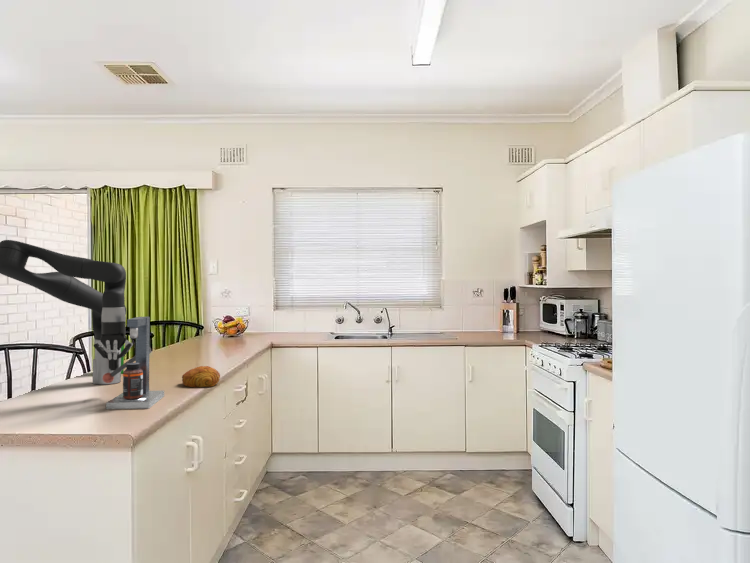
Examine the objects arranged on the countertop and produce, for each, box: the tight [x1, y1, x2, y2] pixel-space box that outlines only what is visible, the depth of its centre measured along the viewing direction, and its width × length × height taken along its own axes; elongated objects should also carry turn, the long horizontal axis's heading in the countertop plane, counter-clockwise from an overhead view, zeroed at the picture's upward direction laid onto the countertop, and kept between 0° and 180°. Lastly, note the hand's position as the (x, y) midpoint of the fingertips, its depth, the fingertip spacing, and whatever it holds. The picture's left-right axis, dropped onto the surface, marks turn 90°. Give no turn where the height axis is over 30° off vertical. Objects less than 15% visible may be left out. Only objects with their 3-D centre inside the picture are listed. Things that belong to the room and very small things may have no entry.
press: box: [105, 316, 165, 410], centre depth 179 cm, size 13×18×28 cm
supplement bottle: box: [122, 362, 143, 399], centre depth 176 cm, size 6×6×11 cm
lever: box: [102, 346, 152, 383], centre depth 188 cm, size 19×4×4 cm
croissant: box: [181, 365, 221, 388], centre depth 212 cm, size 14×16×8 cm
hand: (113, 370), depth 187 cm, fingers closed
